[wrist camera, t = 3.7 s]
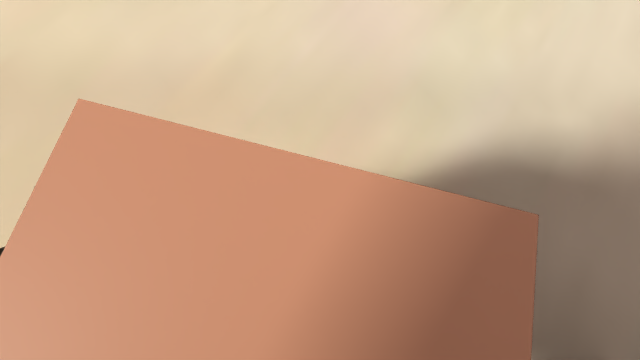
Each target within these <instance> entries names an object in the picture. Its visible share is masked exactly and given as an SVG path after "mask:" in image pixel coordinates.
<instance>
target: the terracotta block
mask: <svg viewBox="0 0 640 360" xmlns="http://www.w3.org/2000/svg"><path fill="white" fill-rule="evenodd" d="M538 218H539V215H537V214H533V213H529V212H525V211H521V210H517V209H513V208H509V207H505V206H501V205H498V204H494V203H490V202H486V201H482V200H478V199H474V198H470V197H466V196H462V195H458V194H454V193H450V192H446V191H442V190H438V189H434V188H430V187H426V186H422V185H418V184H414V183H411V182H407V181H403V180H399V179H395V178H391V177H387V176H383V175H379V174H375V173H371V172H367V171H363V170H359V169H355V168H351V167H347V166H343V165H339V164H335V163H331V162H327V161H324V160H320V159H316V158H312V157H308V156H304V155H300V154H296V153H292V152H288V151H284V150H280V149H276V148H272V147H268V146H264V145H260V144H256V143H252V142H248V141H244V140H240V139H236V138H233V137H229V136H225V135H221V134H217V133H213V132H209V131H205V130H201V129H197V128H193V127H189V126H185V125H181V124H177V123H173V122H169V121H165V120H161V119H157V118H153V117H149V116H146V115H142V114H138V113H134V112H130V111H126V110H122V109H118V108H114V107H110V106H106V105H102V104H98V103H94V102H90V101H86V100H82V99H78V101H77V103H76V105H75V107H74V109H73V111H72V113H71V115H70V117H69V119H68V121H67V123H66V125H65V127H64V129H63V131H62V133H61V135H60V137H59V139H58V141H57V143H56V145H55V147H54V149H53V151H52V153H51V155H50V157H49V160H48V162H47V164H46V166H45V168H44V170H43V172H42V174H41V176H40V178H39V180H38V182H37V184H36V186H35V188H34V190H33V192H32V194H31V196H30V198H29V200H28V202H27V204H26V206H25V208H24V210H23V212H22V214H21V216H20V218H19V220H18V222H17V224H16V226H15V228H14V230H13V232H12V234H11V236H10V238H9V240H8V242H7V244H6V246H5V248H4V250H3V252H2V254H1V256H0V360H531V349H532V331H533V312H534V293H535V274H536V255H537V236H538Z"/></svg>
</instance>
